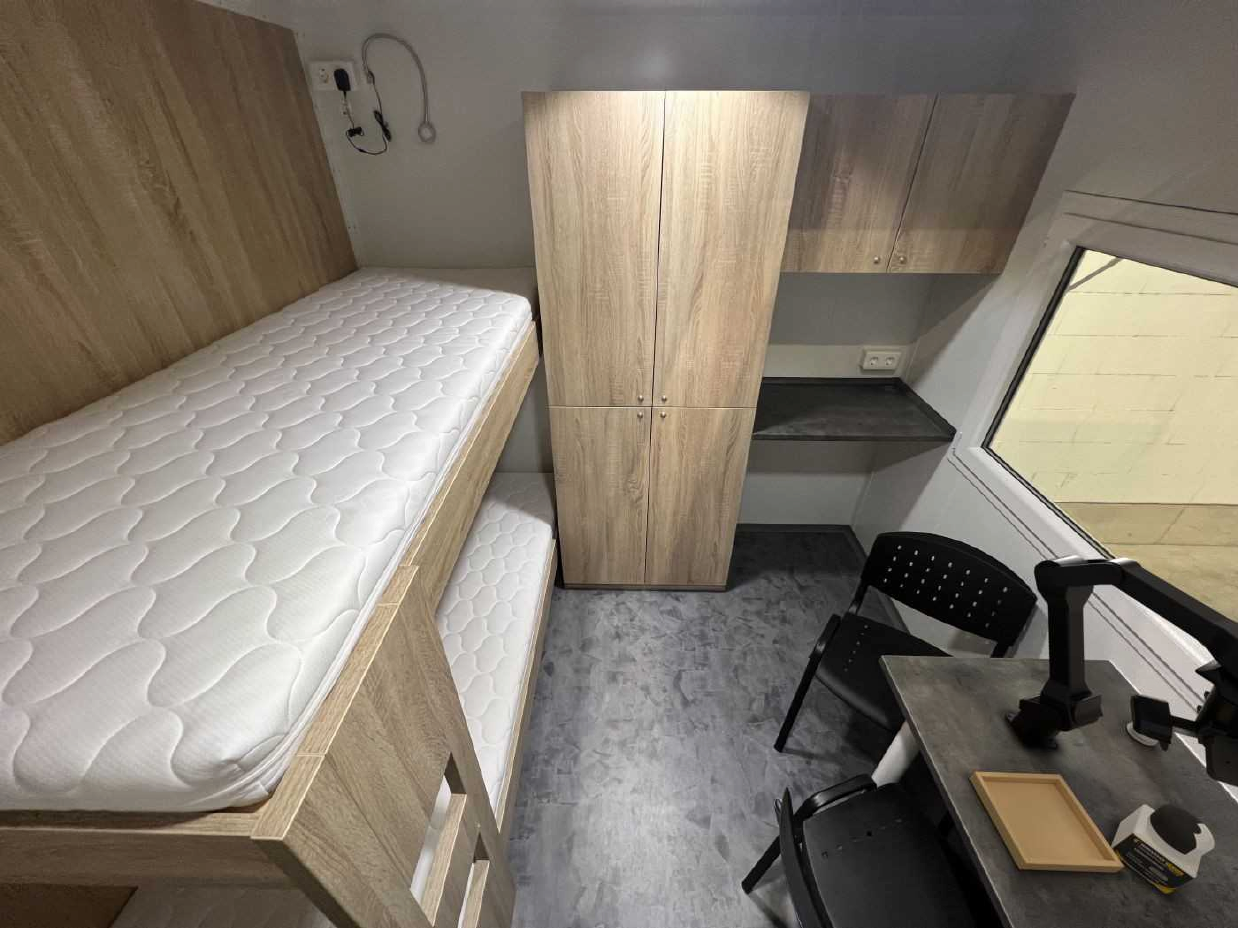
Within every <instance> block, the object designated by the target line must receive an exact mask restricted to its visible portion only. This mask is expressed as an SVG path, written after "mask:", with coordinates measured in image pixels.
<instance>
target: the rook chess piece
mask: <svg viewBox="0 0 1238 928" xmlns="http://www.w3.org/2000/svg"><path fill="white" fill-rule="evenodd" d="M1170 714H1171V715H1173V713H1172V712H1171V711H1170ZM1126 728H1127V732H1128V734H1129V735H1130V736H1131V737H1132V738H1133V739H1134V740H1135V741H1137V742H1138V743H1139V744H1143V745H1145V746H1151V747H1152V746H1156V745H1157V743H1159V741H1157V740H1154V739H1150V738H1148V737H1146V736H1144V735H1141V734H1138V733H1137V732H1136V731H1134V730H1133V726H1132V721H1131V722H1130V723H1127V725H1126Z"/></svg>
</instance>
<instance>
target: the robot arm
mask: <svg viewBox="0 0 1238 928" xmlns="http://www.w3.org/2000/svg"><path fill="white" fill-rule="evenodd" d="M1033 576H1034V580H1035V586H1036V590H1037V591H1038V594H1040V597H1042V599H1043V601H1045V603H1046V606H1047V607H1046V608H1047V638H1048V639H1047V640H1048V671H1049V672H1048V674H1049V676H1048V679H1047V681H1046V682H1045V683H1044V686H1043V687H1042V689H1041V690H1040V693H1037V694H1034V695H1030V696H1027V697H1024V698H1021V699H1019V701H1018V710H1019V712H1018V713H1005V716H1004V717H1005V719H1006V720H1007V722H1008V723H1009V724H1010V727H1012V729H1013V730H1014V731H1015V733H1016V735H1017V736H1018V738H1019V739H1020V741H1021V742H1022V744H1023V745H1024V746H1025V747H1026V748H1039V749H1058V748H1059V747H1060V745H1059V743H1058V742H1057V741H1056V739H1055V738H1056V737H1057V736H1058V735H1059V734H1060V733H1061V732H1064V733H1068V732H1071V731H1073V730H1077V729H1080V728H1083V727H1087V726H1089V725H1092V724H1095V723H1097V722H1098V721H1099V718H1102V717H1104V713H1103V711H1102V707H1101V706H1102V701H1103V697H1102V695H1101V694H1099V693H1096V692H1095V693H1094V692H1092V690H1091V688H1090V687H1089V686H1088V683H1087V682H1086V665H1085V658H1086V657H1085V621H1084V620H1085V619H1084V617H1085V616H1084V614H1085V613H1084V608H1085V606H1086V604H1087V602H1088V600H1089V599H1090V597H1091V596H1092V595H1093V592H1094V588H1095V586H1112V587H1115V588H1116V589H1118V590H1119V591H1120V592H1122V593H1123V594H1125V595H1127V596H1128V597H1129V598H1131V599H1133V600H1134V601H1136V602H1138V603H1139V604H1140V605H1142V606H1144V607H1146V609H1149V610H1150V611H1151V612H1152V613H1155V614H1156V615H1158V616H1159V617H1161V618H1163V619H1164V620H1165V621H1167V622H1168V623H1170V624H1171V625H1173V626H1175V627H1176V628H1178V629H1179V630H1181V631H1183V632H1184V633H1186V634H1187V635H1189V636H1191V638H1193V639H1195V640H1197V642H1199V643H1200V644H1201V645H1202V646H1204V647H1205V648H1206V650H1207V652H1208V653H1209V654H1210V655H1211V656H1212V658H1213V659H1212V660H1211V661H1209V662H1207V663H1204V664H1203V665H1201V666H1199V667H1198V668H1196V669H1194V673H1196V674H1197V675H1198V676H1200V677H1201V678H1203V679H1204V680H1206V681H1208V682H1209V683H1210V684H1212V687H1211V688H1210V690H1209V691H1208V690H1205V691H1204V693H1203V699H1204V702H1203V704H1202V705H1201V704H1198V705H1197V706H1196V707H1195V708H1196V714H1197V715H1196V717H1195V719H1194V720H1193V719H1188V718H1184V717H1181V716H1177V715H1173V714H1170V712H1171V708H1170V702H1169V701H1168V700H1166V699H1162V698H1158V697H1154V696H1149V695H1146V694H1142V693H1138V692H1136V693H1134V694H1132V695H1131V697H1130V699H1129V705H1130V714H1131V722H1132V726H1133V730H1134V731H1136V732H1137V733H1138V734H1141V735H1144V736H1146V737H1148V738H1150V739H1154V740H1157V741H1158V743H1159V746H1160V749H1161V750H1162V751H1163V752H1167V751H1168V750H1169V747H1170V745H1172V738H1173V733H1175V734H1179V735H1181V736H1182V735H1183V736H1187V737H1190V738H1193V739H1196V740H1197V743H1198V745H1202V746H1203V748H1204V751H1205V752H1204V756H1205V772H1206V774H1207V776H1208V777H1209V778H1211V779H1212V780H1214V781H1216V782H1218V783H1223V784H1225V785H1229V786H1231V787H1233V786H1234V787H1236V788H1238V621H1235V620H1234V619H1231V618H1229V617H1228V616H1225V615H1224V614H1223V613H1220V612H1219V611H1217V610H1215V609H1214V608H1212V607H1210V606H1209V605H1207V604H1206V603H1203V602H1202V601H1201V600H1199V599H1197V598H1195V597H1193V596H1192V595H1190V594H1188V593H1186V592H1185V591H1183V590H1182V589H1179V588H1178V587H1176V586H1174V585H1173V584H1171V583H1169V582H1168V581H1166V580H1165V579H1163V578H1161V577H1160V576H1158V575H1156V574H1154V573H1153V572H1151V571H1149V570H1148V569H1147V568H1146V569H1145V568H1144V567H1143V566H1142V565H1141V563H1139V562H1138V561H1137V560H1134V559H1133V558H1128V557H1118V558H1086V559H1085V558H1084V557H1082V556H1080V555H1076V554H1069V555H1064V556H1059V557H1054V558H1050V559H1045V560H1041V561H1040V562H1038V563H1036V564H1035V566H1034V567H1033Z"/></svg>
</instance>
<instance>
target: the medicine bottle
mask: <svg viewBox="0 0 1238 928" xmlns="http://www.w3.org/2000/svg"><path fill="white" fill-rule="evenodd" d="M1215 845H1216V842H1215V839H1214V836H1213V834H1212V833H1211V831H1210V829H1209V828H1208V826H1206V825H1205V823H1203V822H1202V820H1200V819H1199V818H1198V817H1196V815H1195V814H1193V813H1192V812H1190V811H1188V810H1186V809H1185V808H1182V807H1180V806H1177V805H1173V804H1169V803H1168V804H1167V803H1166V804H1162V805H1161V806H1160V807H1158V808H1157V809H1156V810H1155V809H1154V808H1152V807H1150V806H1149V805H1147V804H1142V805H1141V806H1140V807H1138V808H1137V809H1135V810H1134V811H1133V812H1132V813H1131V814H1130V815H1128V816H1127V817H1126V818H1124V819H1123V820H1121V821H1120V822H1119V825H1118V828H1117V830H1116V833H1115V835H1114V837H1113V840H1112V842H1111V845H1110V847H1111V848H1112V850H1113V851H1114V853H1115V854H1116V855H1117V857H1118V858H1119V860H1120V861H1121V862H1123V863H1125V864H1126V865H1127V866H1128V867H1130V868H1131V869H1133V871H1135V872H1136V873H1138V874H1139V875H1140V876H1142V877H1143V878H1144V879H1146V880H1147V881H1148V882H1149V883H1151V884H1152V885H1153V886H1155V887H1156V888H1157V889H1159V890H1160V891H1161V892H1162V893H1164V894H1166V895H1168V894H1170V893H1172V892H1173V891H1175V890H1177V889H1178V888H1181V887H1182V886H1184V885H1185V884H1187V883H1189V882H1190V881H1193V880H1194V879H1196V878H1197V875H1198V871H1199V866H1200V862H1201V860H1202V856H1205V855H1206V853H1208V852H1210V851H1212V850H1213V849H1214V848H1215Z"/></svg>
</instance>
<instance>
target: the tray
mask: <svg viewBox="0 0 1238 928" xmlns="http://www.w3.org/2000/svg"><path fill="white" fill-rule="evenodd" d="M969 781H970V782H971V784H972V786H973V789H974V790H975V791H976V793H977V795H978V797H979V799H980V800H981V802H982V804H983V806H984V808H985V809H986V812H988V815H989V817H990V819H991V820H992V823H993V825H994V826H995V827H996V830H997V831H998V834H999V835H1000V837H1001V839H1002V841H1003V842H1004V844H1005V846H1006V847H1007V849H1008V851H1009V853H1010V855H1011V857H1012V858H1013V861H1014V862H1015V864H1016V866H1017V868H1018V869H1019V870H1031V871H1032V870H1034V871H1058V872H1060V871H1063V872H1084V873H1085V872H1086V873H1087V872H1089V873H1113V874H1115V873H1118V872H1119V871H1120V870H1122V869H1124V868H1125V865H1124V864H1123V863H1122V860H1121V859H1120V858H1118V857H1117V855H1116V854H1115V853H1114V851H1113V850H1112V848H1111V845H1110V843H1109V842H1108V841H1107V840H1106V838H1105V837H1104V835H1103V834H1102V833H1101V831H1100V830H1099V828H1098V826H1097V825H1096V823H1094V821H1093V820H1092V818H1091V817H1090V815H1089V814H1088V812H1087V811H1086V809H1085V808H1084V807H1083V805H1082V804H1081V802H1080V801H1079V800H1078V798H1077V796H1076V795H1075V794H1074V792H1073V790H1071V788H1070V787H1069V785H1068V784H1067V783H1066V781H1065V780H1064V778H1063V777H1062V775H1061V774H1056V773H1055V774H1051V773H1024V772H1023V773H1022V772H996V771H974V772H973V773H972V774H971V775H970V776H969Z"/></svg>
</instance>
